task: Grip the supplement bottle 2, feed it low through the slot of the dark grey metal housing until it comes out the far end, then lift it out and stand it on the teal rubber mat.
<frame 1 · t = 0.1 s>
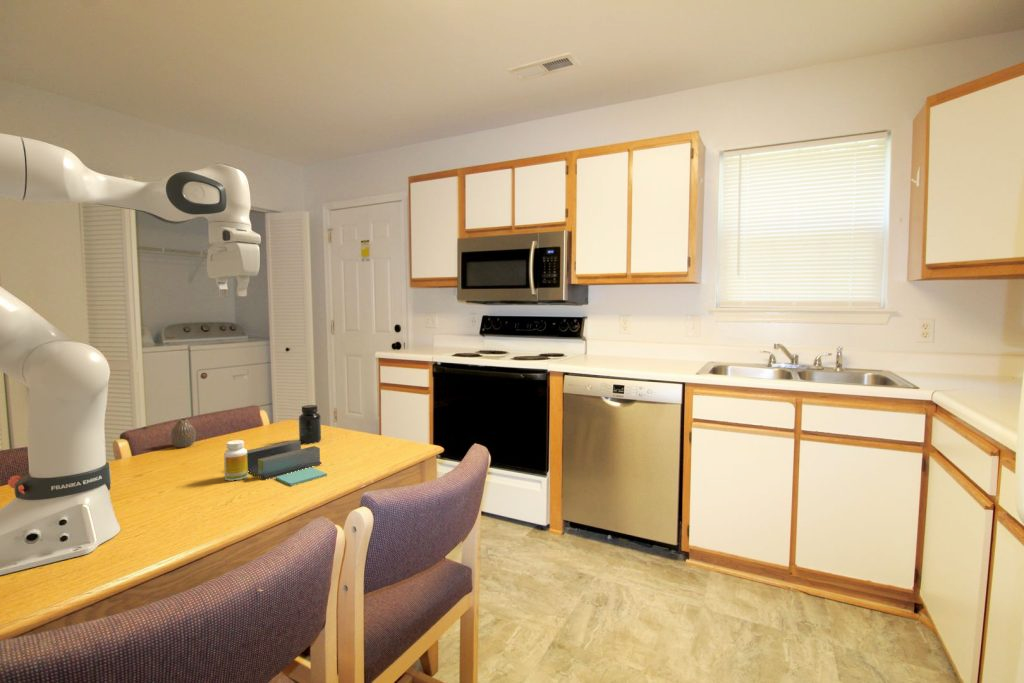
hand: (232, 296, 116), 48 cm above the table, tool pointing down, fingers open, 8 cm apart
supplement bottle 2: (236, 478, 131), on the table
slot housing: (281, 466, 140), on the table
vase: (183, 446, 159), on the table
teal mat: (301, 477, 131), on the table
supplement bottle: (310, 441, 166), on the table
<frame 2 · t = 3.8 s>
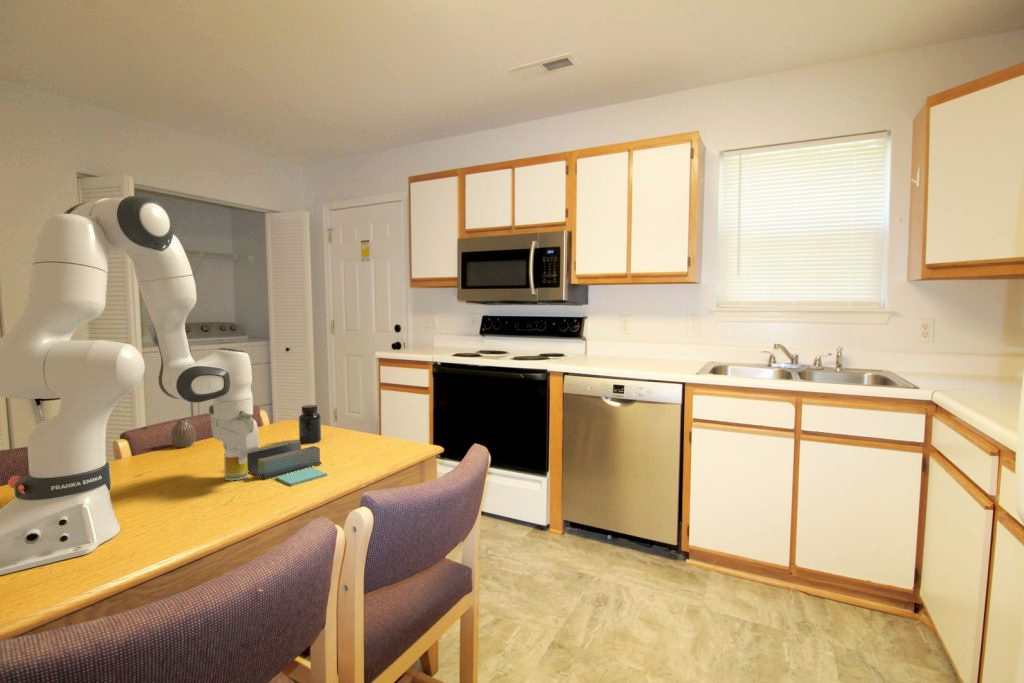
hand: (235, 460, 130), 5 cm above the table, tool pointing down, fingers closed on supplement bottle 2, 5 cm apart
supplement bottle 2: (236, 478, 131), on the table, touching gripper
everything else where it was.
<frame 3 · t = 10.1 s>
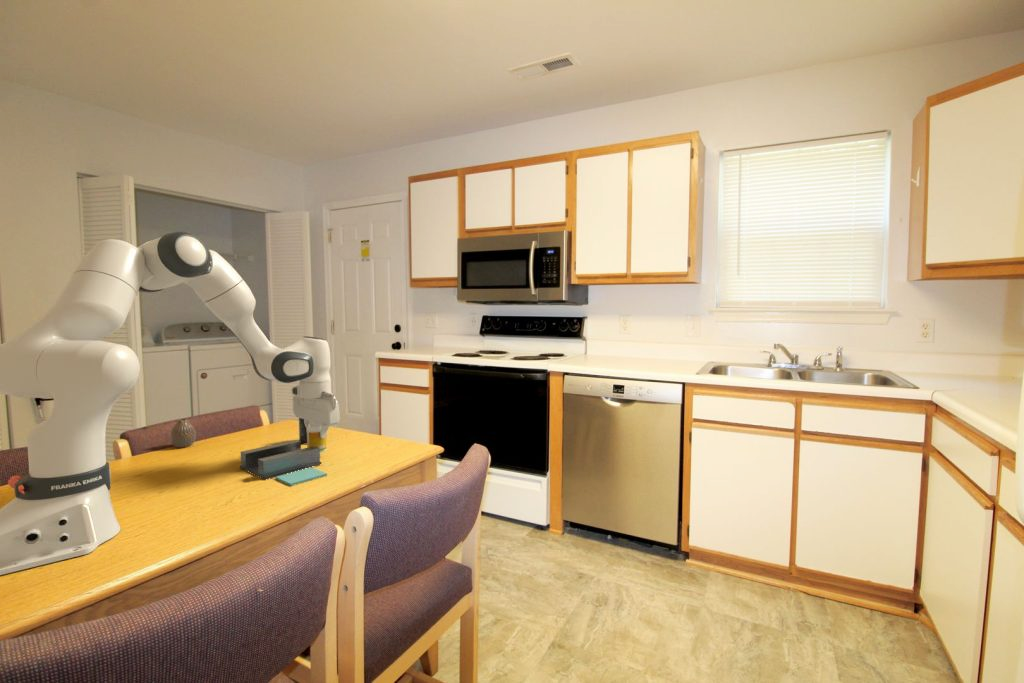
hand: (316, 435, 148), 7 cm above the table, tool pointing down, fingers closed on supplement bottle 2, 5 cm apart
supplement bottle 2: (316, 451, 149), point 2 cm above the table, touching gripper
everything else where it was.
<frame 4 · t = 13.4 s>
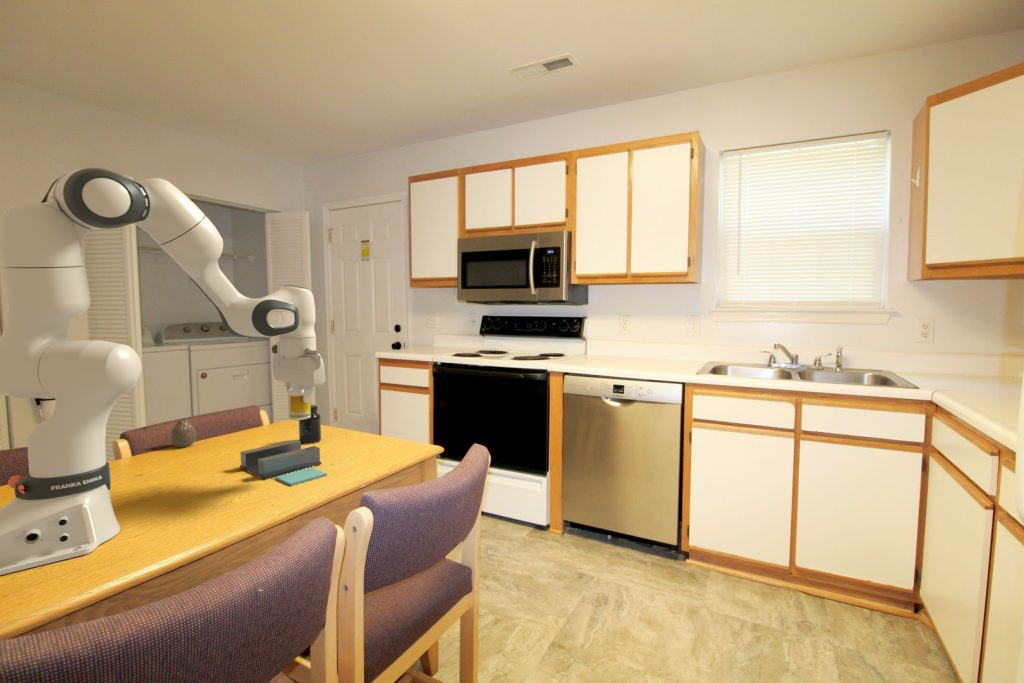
hand: (299, 400, 130), 21 cm above the table, tool pointing down, fingers closed on supplement bottle 2, 5 cm apart
supplement bottle 2: (299, 418, 130), point 16 cm above the table, touching gripper
everything else where it was.
when the fingers open (7 cm above the table, at t = 16.4 s): supplement bottle 2 drops 2 cm, resting on teal mat.
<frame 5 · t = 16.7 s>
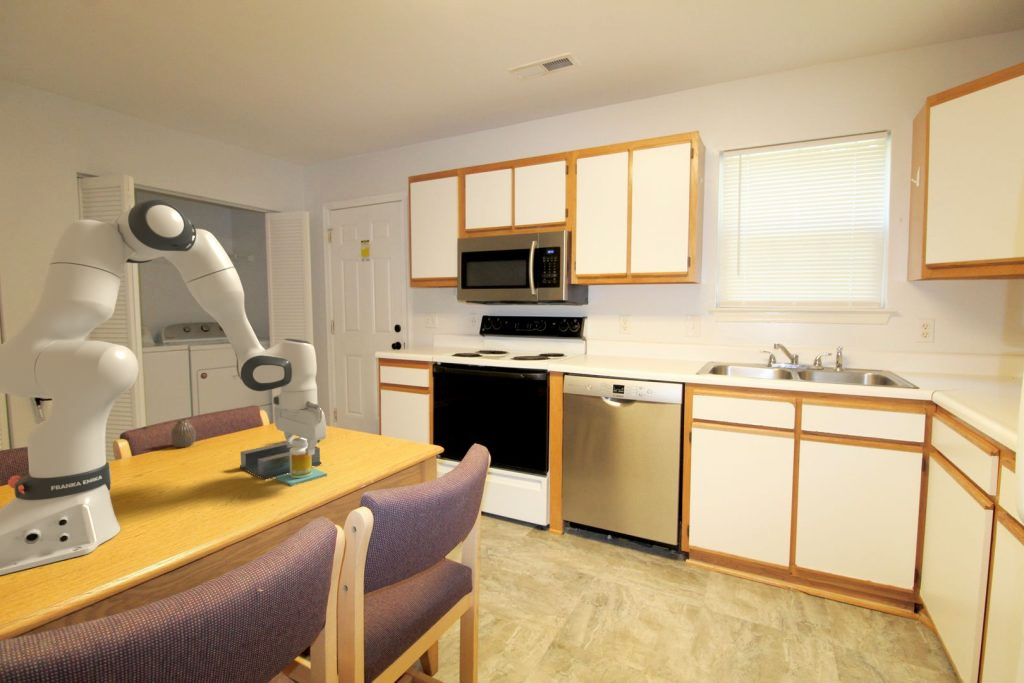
hand: (300, 451, 131), 7 cm above the table, tool pointing down, fingers open, 8 cm apart
supplement bottle 2: (301, 475, 131), resting on teal mat
everything else where it was.
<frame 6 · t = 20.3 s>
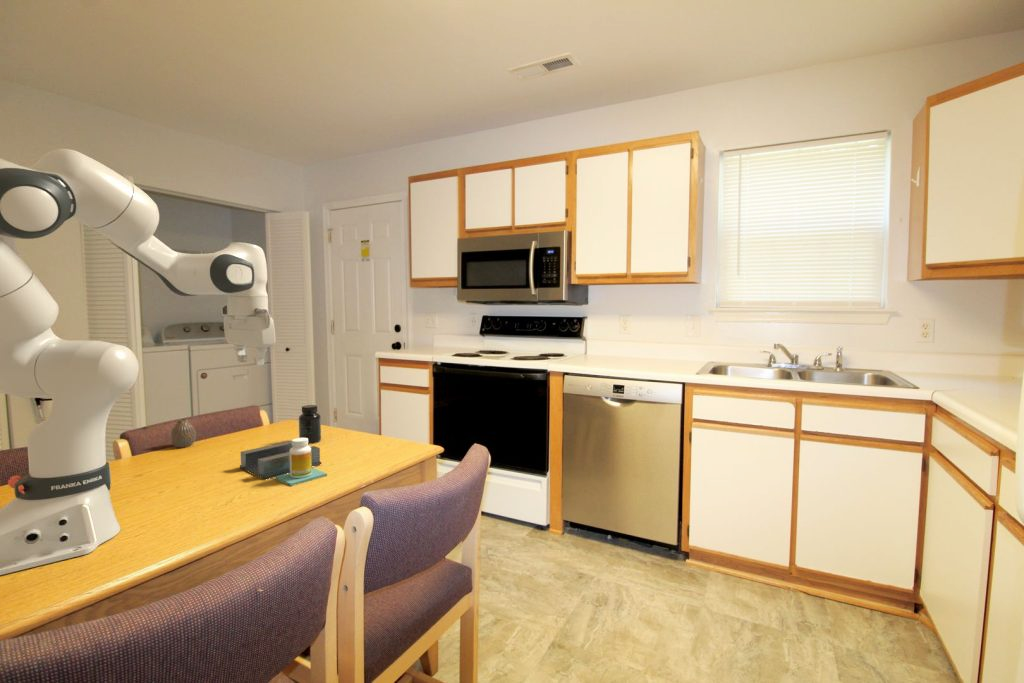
hand: (250, 363, 124), 31 cm above the table, tool pointing down, fingers open, 8 cm apart
nothing on the table moved.
at the end: supplement bottle 2 inside the target area on the teal mat (0.1 cm from its centre), point 0.4 cm above the teal mat's base; supplement bottle 2 tilted 0°; the gripper is holding nothing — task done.
